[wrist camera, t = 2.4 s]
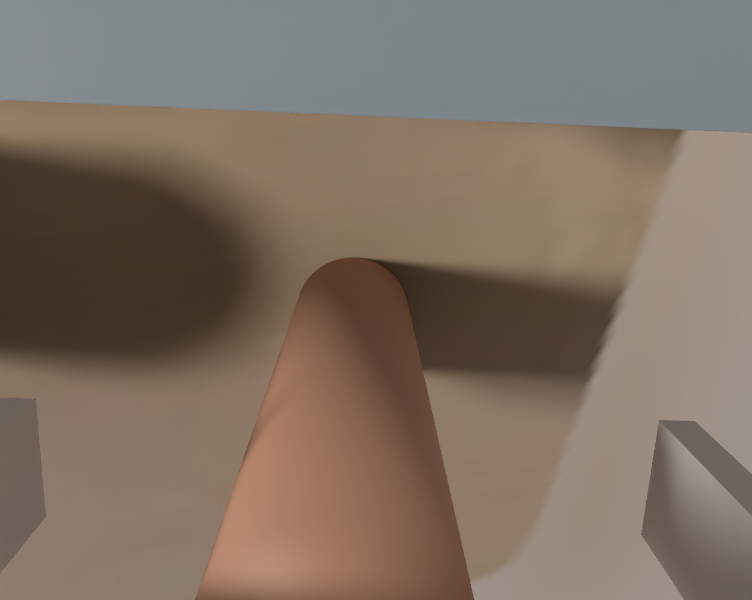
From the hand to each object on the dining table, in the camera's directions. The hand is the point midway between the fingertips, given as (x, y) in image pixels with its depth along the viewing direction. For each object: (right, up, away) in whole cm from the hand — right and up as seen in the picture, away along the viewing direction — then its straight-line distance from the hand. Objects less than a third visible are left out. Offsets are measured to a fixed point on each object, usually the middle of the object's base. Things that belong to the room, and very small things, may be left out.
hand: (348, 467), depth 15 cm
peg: (0, +3, +10) cm, 11 cm away
